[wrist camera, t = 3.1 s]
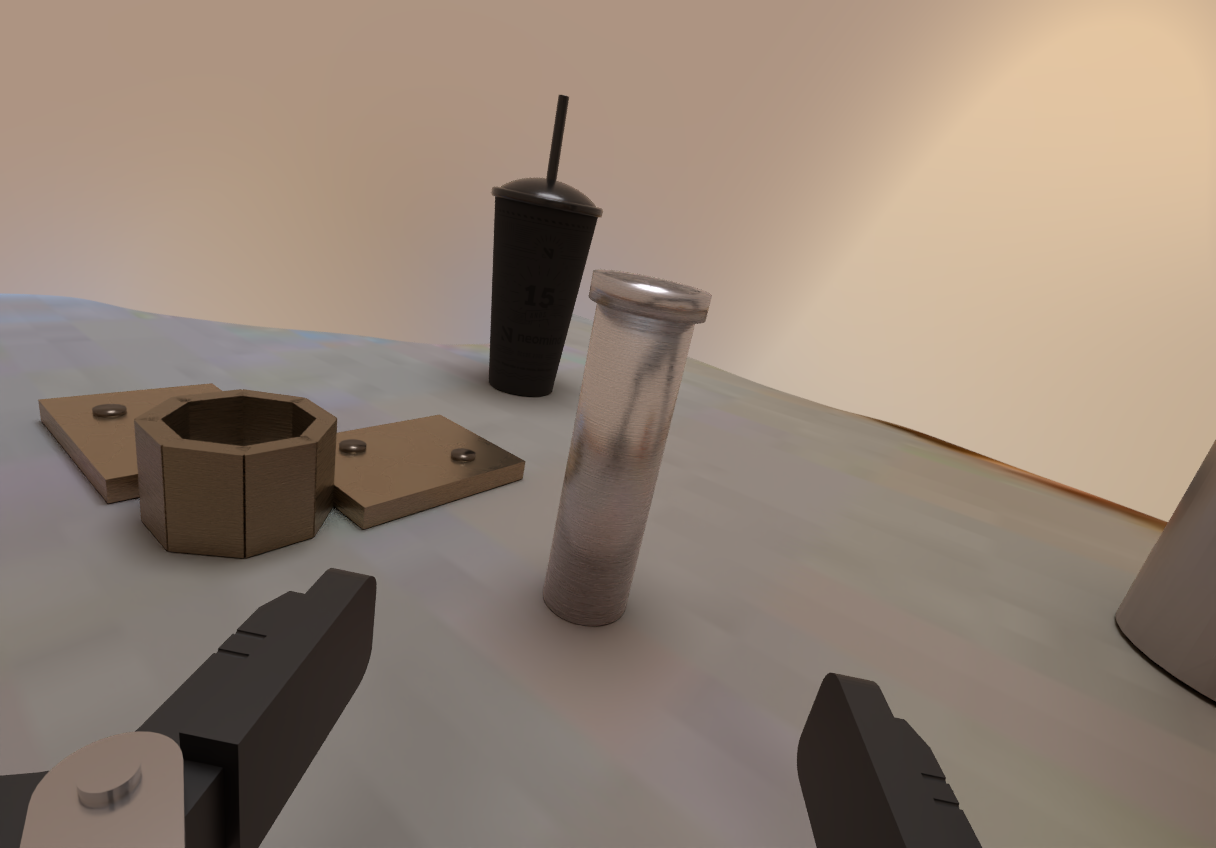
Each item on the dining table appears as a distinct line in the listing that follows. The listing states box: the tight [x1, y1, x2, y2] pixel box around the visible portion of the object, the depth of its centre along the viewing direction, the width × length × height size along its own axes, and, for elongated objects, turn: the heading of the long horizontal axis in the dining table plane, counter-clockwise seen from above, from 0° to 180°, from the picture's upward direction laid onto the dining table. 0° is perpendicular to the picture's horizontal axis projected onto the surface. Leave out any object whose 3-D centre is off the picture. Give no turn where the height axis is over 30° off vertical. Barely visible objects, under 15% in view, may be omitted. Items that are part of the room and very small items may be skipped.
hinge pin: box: [543, 270, 712, 626], centre depth 21 cm, size 4×4×12 cm
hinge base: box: [38, 383, 525, 558], centre depth 29 cm, size 16×16×4 cm
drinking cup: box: [489, 95, 603, 396], centre depth 43 cm, size 8×8×20 cm
